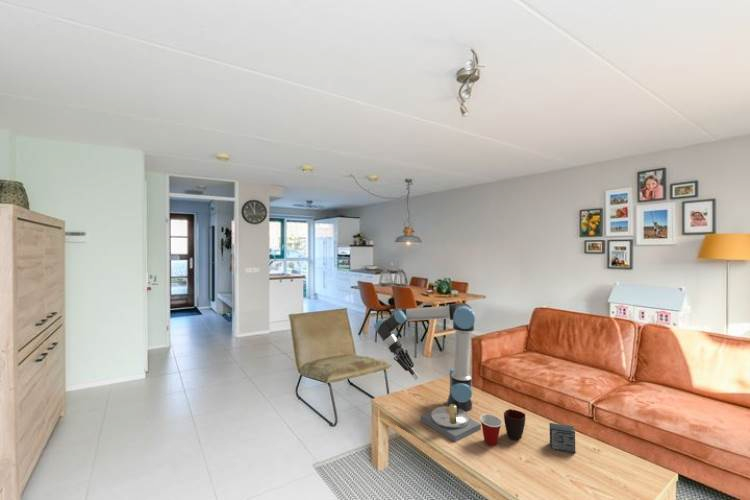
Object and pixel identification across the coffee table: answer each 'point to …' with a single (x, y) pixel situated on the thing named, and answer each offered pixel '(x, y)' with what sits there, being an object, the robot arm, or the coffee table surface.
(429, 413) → the stand
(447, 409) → the silver disc with stripe
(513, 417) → the mug
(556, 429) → the small box
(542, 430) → the coffee table surface
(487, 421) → the plastic cup
